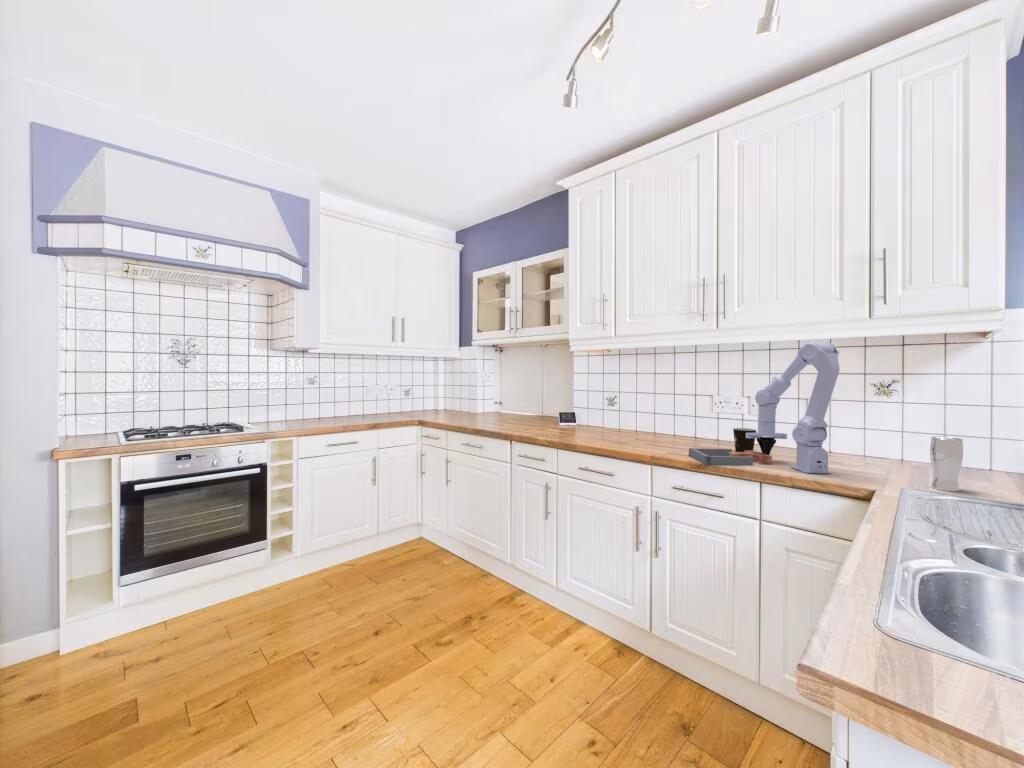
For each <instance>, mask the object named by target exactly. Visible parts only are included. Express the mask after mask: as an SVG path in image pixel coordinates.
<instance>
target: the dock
mask: <svg viewBox="0 0 1024 768" xmlns="http://www.w3.org/2000/svg"><path fill="white" fill-rule="evenodd" d="M729 452H733V449H731V448H708V447H707V448H704V447H703V448H701V447H699V448H698V447H697V448H696V447H689V448H688V456H689V455H690V456H689V457H691V458H692V459H694V458H695V460H696V459H697V461H698V462H700V463H702V464H704V465H706V466H742V465H753V466H754V462H753V457H742V456H729Z"/></svg>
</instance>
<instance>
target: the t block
mask: <svg viewBox="0 0 1024 768" xmlns="http://www.w3.org/2000/svg"><path fill="white" fill-rule="evenodd" d="M729 456H742V457H753V461H755V462H754V463H756V462H758V463H757V464H759V463H760V464H759V465H772V464H773V456H772V455H767V454H764V453H762V451H761V452H760V451H759V450H758V451H757V450H754V449H753V450H745V452H736V451H732V452H729Z"/></svg>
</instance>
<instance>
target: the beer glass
mask: <svg viewBox="0 0 1024 768" xmlns="http://www.w3.org/2000/svg"><path fill="white" fill-rule="evenodd" d="M963 440H964V439H963V438H959V437H958V438H957V437H951V436H950V437H949V436H931V441H930V448H929V457H930V464H931V468H932V469H931V470H932V480H931V483H930V487H931V488H932V489H934V490H938V491H943V492H950V493H952V492H953V493H959V492H960V490H961V489H960V486H959V485H960V484H959V475H960V471H961V467H962V464H963V460H964V443H963V442H964V441H963Z"/></svg>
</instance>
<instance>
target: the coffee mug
mask: <svg viewBox="0 0 1024 768" xmlns="http://www.w3.org/2000/svg"><path fill="white" fill-rule="evenodd" d="M732 430H733V440H734V450H735V451H734V452H745V450H753V451H754V449H755V441H756V438H746V433H756V432H757V429H756V428H755V429H754V428H747V427H734V428H733V429H732Z"/></svg>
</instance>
